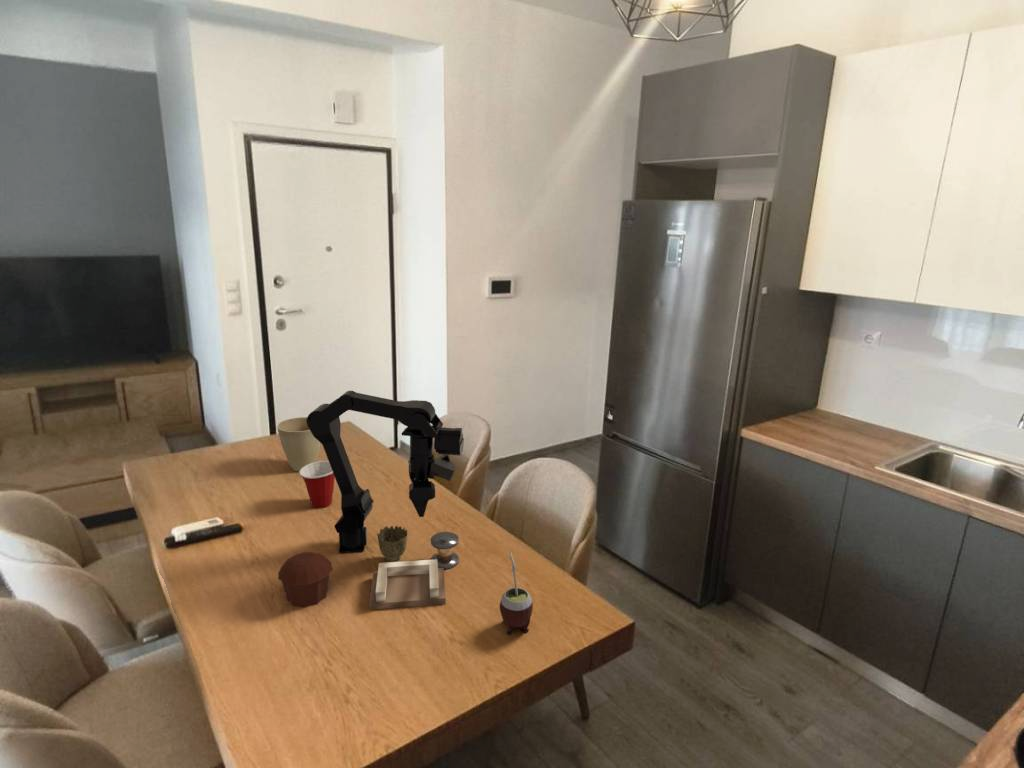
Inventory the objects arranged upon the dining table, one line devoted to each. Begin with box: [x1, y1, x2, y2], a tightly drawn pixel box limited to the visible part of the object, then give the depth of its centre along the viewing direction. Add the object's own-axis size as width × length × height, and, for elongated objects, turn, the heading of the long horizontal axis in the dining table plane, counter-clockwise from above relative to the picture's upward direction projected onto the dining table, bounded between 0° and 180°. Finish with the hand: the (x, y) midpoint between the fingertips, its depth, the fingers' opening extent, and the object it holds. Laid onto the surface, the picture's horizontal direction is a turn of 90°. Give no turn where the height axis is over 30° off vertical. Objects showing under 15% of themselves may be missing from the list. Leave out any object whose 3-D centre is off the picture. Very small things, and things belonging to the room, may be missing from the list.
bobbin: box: [430, 531, 460, 570], centre depth 148 cm, size 7×7×6 cm
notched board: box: [368, 559, 447, 611], centre depth 137 cm, size 17×12×4 cm
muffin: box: [277, 551, 333, 608], centre depth 134 cm, size 12×11×10 cm
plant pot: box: [276, 416, 322, 472], centre depth 200 cm, size 15×15×16 cm
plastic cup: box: [298, 460, 336, 509], centre depth 176 cm, size 11×11×12 cm
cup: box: [377, 525, 408, 563], centre depth 148 cm, size 8×7×8 cm
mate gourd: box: [499, 551, 534, 636], centre depth 125 cm, size 8×8×15 cm
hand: (420, 507), depth 150 cm, fingers open, 9 cm apart
